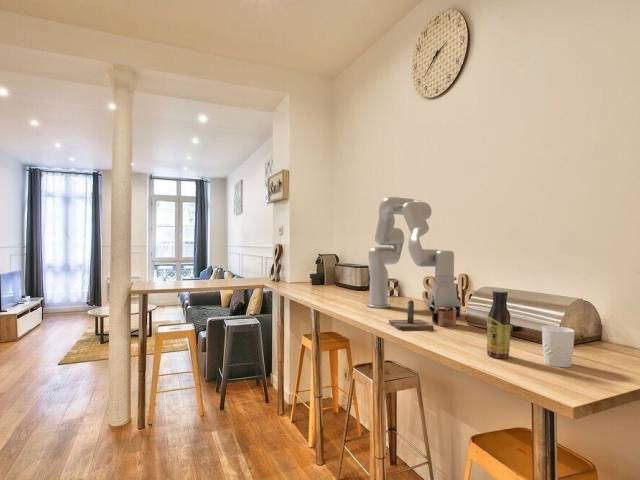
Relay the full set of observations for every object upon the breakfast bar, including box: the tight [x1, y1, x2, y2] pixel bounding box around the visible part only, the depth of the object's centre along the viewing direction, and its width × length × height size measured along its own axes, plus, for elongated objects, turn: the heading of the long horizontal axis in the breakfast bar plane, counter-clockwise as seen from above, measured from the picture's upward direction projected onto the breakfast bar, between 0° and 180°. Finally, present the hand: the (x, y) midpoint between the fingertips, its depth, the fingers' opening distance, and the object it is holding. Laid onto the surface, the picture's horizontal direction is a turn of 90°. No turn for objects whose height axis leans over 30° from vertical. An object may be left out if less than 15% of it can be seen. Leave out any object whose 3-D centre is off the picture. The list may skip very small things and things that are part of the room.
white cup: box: [541, 325, 576, 368], centre depth 105 cm, size 8×8×10 cm
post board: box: [388, 299, 434, 332], centre depth 149 cm, size 12×14×11 cm
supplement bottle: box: [444, 289, 462, 318], centre depth 172 cm, size 7×7×12 cm
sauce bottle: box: [486, 289, 511, 359], centre depth 111 cm, size 7×6×20 cm
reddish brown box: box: [431, 307, 457, 327], centre depth 154 cm, size 7×7×6 cm
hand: (443, 321), depth 154 cm, fingers closed on reddish brown box, 7 cm apart
